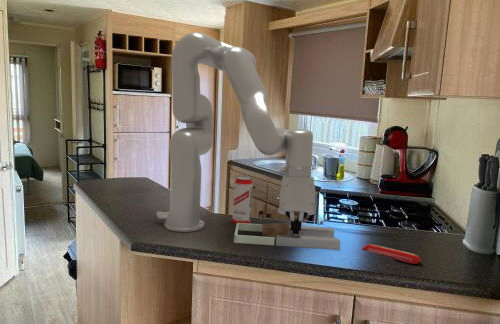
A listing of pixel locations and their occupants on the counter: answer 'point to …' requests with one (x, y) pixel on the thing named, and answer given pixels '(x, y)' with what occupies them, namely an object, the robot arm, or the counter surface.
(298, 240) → the slot channel
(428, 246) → the counter surface
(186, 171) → the robot arm
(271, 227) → the walnut block
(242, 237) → the tray
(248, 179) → the beer can
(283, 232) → the walnut block
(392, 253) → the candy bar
